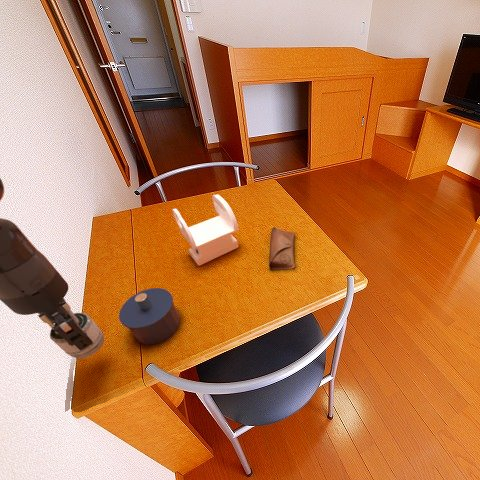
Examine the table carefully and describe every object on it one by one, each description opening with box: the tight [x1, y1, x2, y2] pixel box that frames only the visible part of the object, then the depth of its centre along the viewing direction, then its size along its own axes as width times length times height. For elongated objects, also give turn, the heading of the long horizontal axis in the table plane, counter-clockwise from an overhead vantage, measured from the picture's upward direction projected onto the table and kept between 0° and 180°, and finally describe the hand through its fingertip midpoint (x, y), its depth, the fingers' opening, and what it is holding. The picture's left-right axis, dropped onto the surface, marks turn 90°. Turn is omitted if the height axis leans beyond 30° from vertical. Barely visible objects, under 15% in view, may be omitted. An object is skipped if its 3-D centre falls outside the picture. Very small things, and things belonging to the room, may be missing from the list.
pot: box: [128, 302, 181, 345], centre depth 67 cm, size 10×10×8 cm
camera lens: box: [49, 312, 105, 360], centre depth 55 cm, size 6×6×8 cm
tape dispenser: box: [171, 193, 240, 267], centre depth 86 cm, size 14×13×18 cm
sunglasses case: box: [268, 226, 296, 271], centre depth 91 cm, size 18×7×7 cm
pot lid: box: [118, 287, 174, 329], centre depth 64 cm, size 11×11×5 cm
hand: (79, 335), depth 55 cm, fingers closed on camera lens, 6 cm apart
